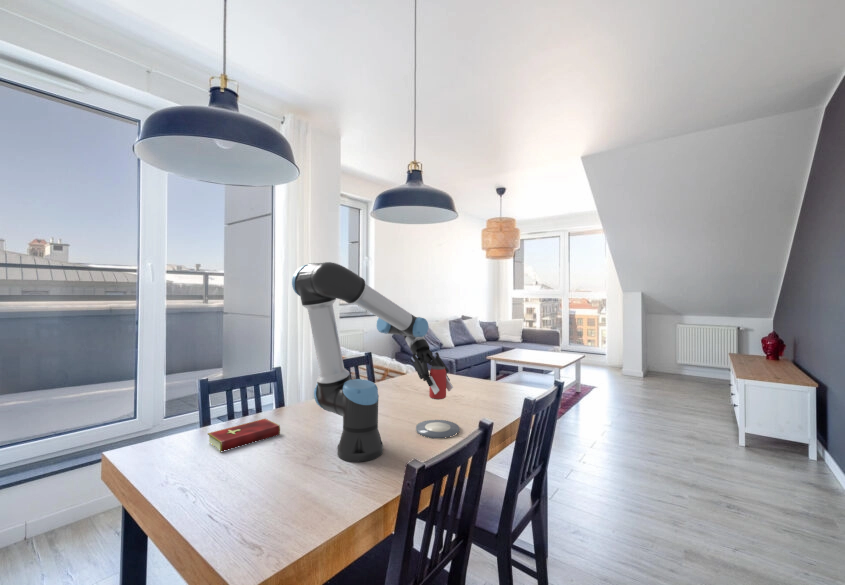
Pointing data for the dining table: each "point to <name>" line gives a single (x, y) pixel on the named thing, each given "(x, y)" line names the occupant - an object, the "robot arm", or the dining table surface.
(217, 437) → the hardcover book
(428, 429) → the plate
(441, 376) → the beer can
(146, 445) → the dining table surface
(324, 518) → the dining table surface
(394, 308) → the robot arm
